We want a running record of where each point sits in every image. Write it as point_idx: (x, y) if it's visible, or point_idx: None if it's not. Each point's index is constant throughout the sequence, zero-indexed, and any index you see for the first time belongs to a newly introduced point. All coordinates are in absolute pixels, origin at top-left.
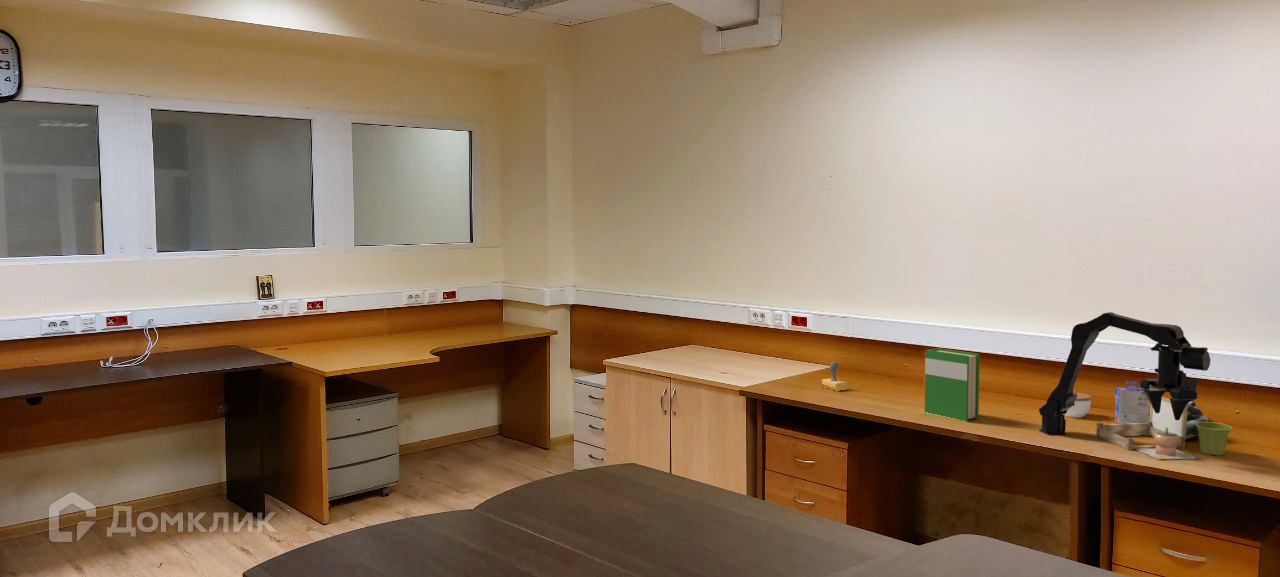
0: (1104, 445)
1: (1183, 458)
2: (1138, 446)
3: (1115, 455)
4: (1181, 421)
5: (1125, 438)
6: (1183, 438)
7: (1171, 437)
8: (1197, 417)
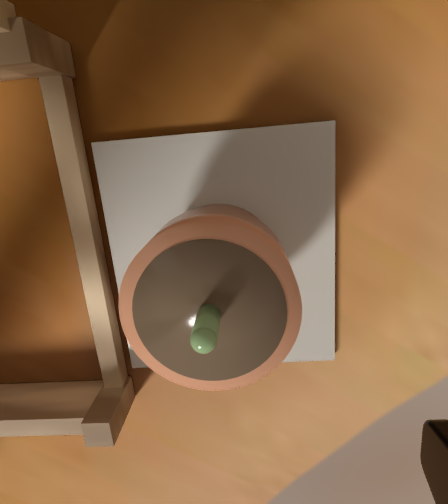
0: (49, 452)
1: (333, 213)
2: (113, 354)
3: (230, 489)
4: None
5: (62, 426)
6: (30, 36)
7: (300, 318)
8: None
